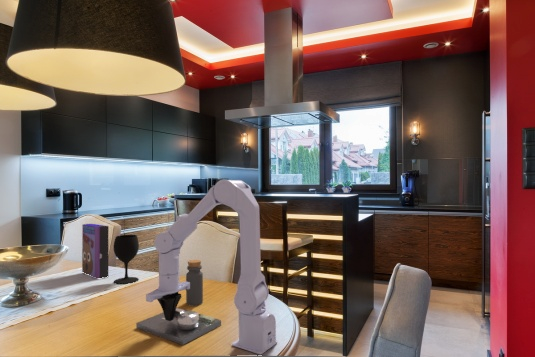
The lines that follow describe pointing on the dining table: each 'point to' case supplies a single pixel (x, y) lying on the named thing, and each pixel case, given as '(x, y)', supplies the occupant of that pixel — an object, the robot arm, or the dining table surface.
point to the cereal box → (95, 250)
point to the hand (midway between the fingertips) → (169, 319)
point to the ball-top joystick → (186, 319)
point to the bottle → (194, 283)
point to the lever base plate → (172, 332)
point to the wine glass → (126, 254)
